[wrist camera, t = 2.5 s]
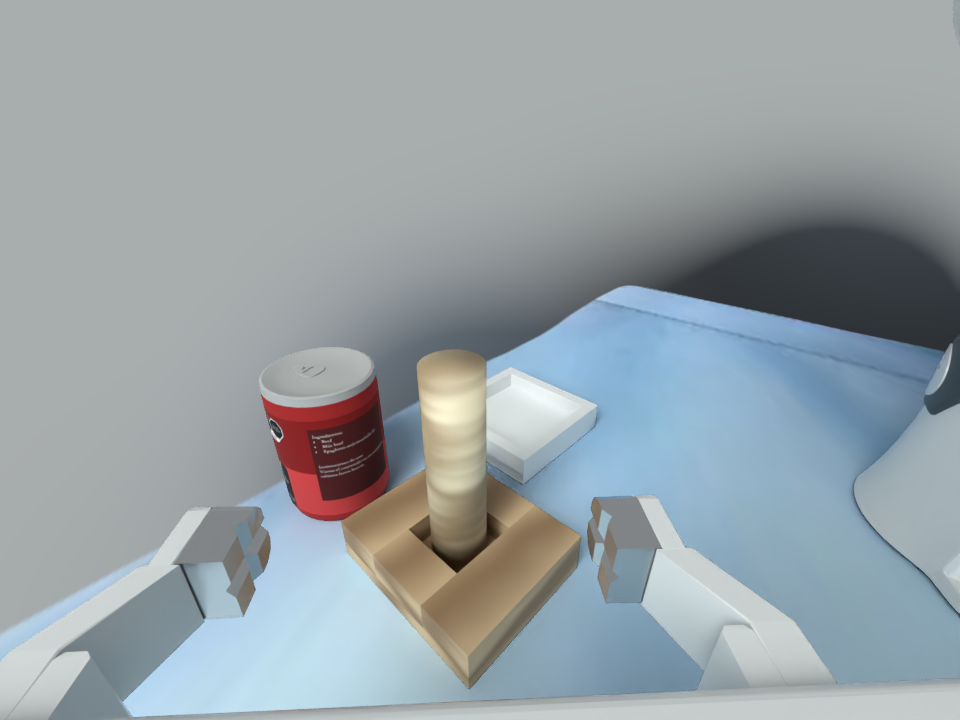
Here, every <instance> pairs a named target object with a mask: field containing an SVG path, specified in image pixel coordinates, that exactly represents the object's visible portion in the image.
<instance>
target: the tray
mask: <svg viewBox="0 0 960 720" xmlns="http://www.w3.org/2000/svg"><path fill="white" fill-rule="evenodd" d="M597 407H598V405H596V404H594V403H591V402H589V401H587V400H584V399H582V398H580V397H577V396H575V395H573V394H571V393H568V392H566V391H564V390H561V389H559V388H557V387H554V386H552V385H550V384H548V383H545V382H543V381H541V380H538V379H536V378H534V377H532V376H529V375H527V374H525V373H522V372H520V371H518V370H515V369H513V368H511V367H510V368H508V369H506V370H504V371H502V372H500V373H498V374H497V375H495V376H493V377H491V378H489V379H487V380H486V441H487V462H489V463H490V464H492V465H493V466H495V467H496V468H498V469H499V470H501V471H503V472H504V473H506V474H507V475H509V476H510V477H512V478H514V479H515V480H517V481H518V482H520V483H521V484H524V483H526V482H527V481H528V480H529V479H531V478H532V477H533V476H534V475H536V474H537V473H538V472H539V471H540V470H542V469H543V468H544V467H545V466H547V465H548V464H549V463H550V462H552V461H553V460H554V459H555V458H557V457H558V456H559V455H560V454H562V453H563V452H564V451H565V450H567V449H568V448H569V447H570V446H572V445H573V444H574V443H575V442H576V441H578V440H579V439H580V438H581V437H583V436H584V435H585V434H586V433H588V432H589V431H590V430H591V429H593V428H594V427H595V422H596V414H597Z"/></svg>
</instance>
